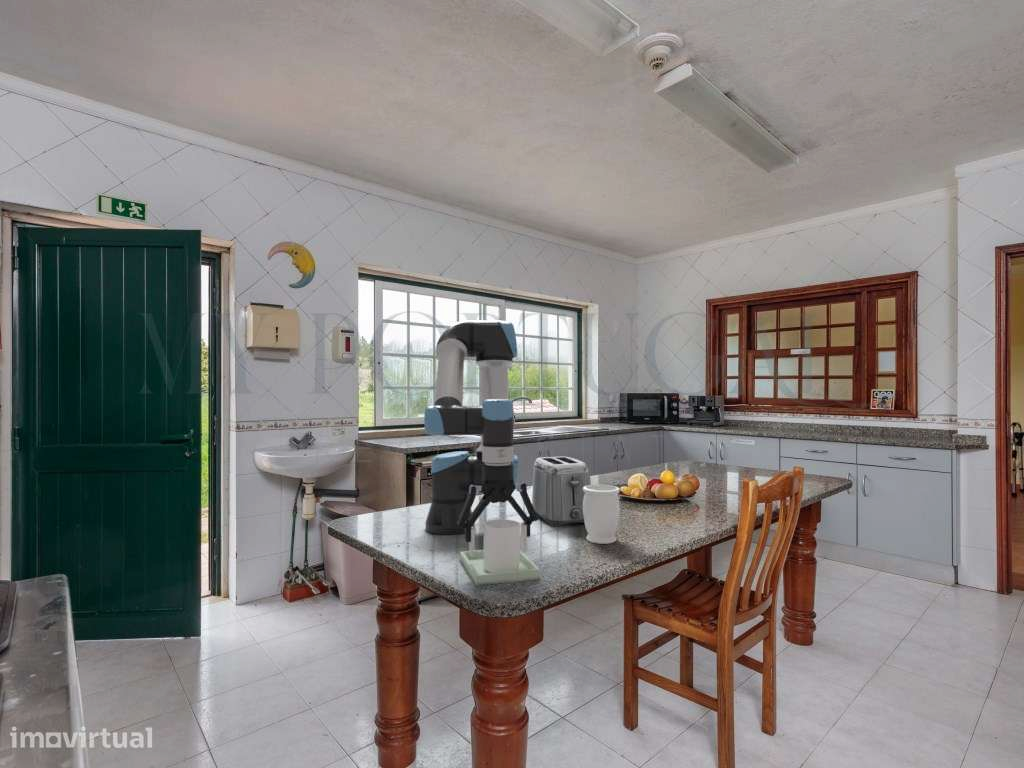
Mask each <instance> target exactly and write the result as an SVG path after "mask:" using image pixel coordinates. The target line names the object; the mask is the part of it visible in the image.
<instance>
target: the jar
mask: <svg viewBox="0 0 1024 768" xmlns="http://www.w3.org/2000/svg"><path fill="white" fill-rule="evenodd" d="M583 491H584V492H585V495H584V499H583V515H584V522H585V523H584V526H585V529H586V532H587V536H586V540H587V541H588V542H590V543H593V544H600V545H608V544H613V543H615V542H616V540H617V538H616V536H615V534H616V532H617V531H618V528H619V527H618V526H619V519H620V513H621V512H620V510H621V506H620V498H619V495H618V494H619V493H620V487H618V486H614V485H608V484H591V485H588V486H584V487H583Z"/></svg>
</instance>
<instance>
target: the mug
mask: <svg viewBox="0 0 1024 768" xmlns="http://www.w3.org/2000/svg"><path fill="white" fill-rule="evenodd" d="M520 523H521V522H518V521H517V520H512V519H503V518H501V519H500V518H499V519H491V520H487V521H485V522H484V523H483V550H484V553H483V565H484V569H485V570H486V571H488V572H490V573H497V572H507V571H516V570H518V569H519V564H520V550H521V549H520Z"/></svg>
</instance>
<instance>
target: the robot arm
mask: <svg viewBox="0 0 1024 768" xmlns="http://www.w3.org/2000/svg"><path fill="white" fill-rule="evenodd" d="M435 356H436V358H437V360H438V361H437V372H436V381H435V382H436V383H435V392H434V403H433V405H428V406H426V407H425V409H424V419H423V421H424V432H425V433H426V434H427V435H431V436H440V437H441V436H442V437H443V436H480V445H478V446H479V447H478V448H476V450H475V454H476V455H470V454H471V453H470V452H469V451H468V450H467V451H466V450H463V451H462V450H460V451H451V452H445V453H441V454H437V455H436V456H434V457H433V458H432V459H431V466H430V469H431V470H430V474H431V477H430V478H431V481H430V482H431V483H430V484H431V485H430V486H431V488H430V490H431V491H430V495H431V496H430V499H431V500H430V501H431V502H430V507H429V510H428V514H427V516H426V520H425V531H426V532H429V533H430V534H435V535H458V534H459V535H460V534H464V539H465V542H466V543H468V551H469V554H470V556H471V557H475V550H476V548H475V546H476V545H475V543H476V542H475V541H476V540H475V539H476V537H475V533H476V532H475V531H476V530H475V527H476V522H477V520H478V519H479V517H480V516H481V515H482V514H483V513H484V511H485V510H486V508H487V507H488V506H489V505H490V503H492V504H497V503H506V502H508V503H509V504H510V505H511V506H512V508H513V509H514V511H515V512H516V513H517V514H518V516H519V517H520V519H521V520H522V521H523V522H519V523H520V550H521V551H522V552H523V553H527V552H528V551H527V550H528V546H527V545H528V540H527V538H530V537H531V525H532V524H533V522H537V521H538V520H539V517H538V514H536V512H535V510H534V508H533V505H532V500H531V499H530V496H529V494H528V488H527V484H526V483H525V482H523V481H519V482H517V477H518V467H519V466H518V464H519V457H518V455H516V454H514V416H515V411H514V402H513V400H511V399H509V368H510V367H511V365H512V364H514V363H513V362H514V361H513V359H515V358H517V357H518V343H517V335H516V331H515V326H514V324H513V323H512V322H511V321H508V320H500V319H497V320H483V319H482V320H469V319H467V320H461V321H457V322H456V323H453V324H452V325H450V326H448V328H446V330H444V331H443V332H442V333H441V335H440V337H439V338H438V340H437V342H436V347H435ZM467 358H475V364H476V365H477V366H478V367H479V368H480V405H463V404H464V403H463V398H464V397H463V395H464V373H465V372H464V370H465V368H464V366H465V360H466V359H467ZM515 491H517V492H519V494H520V496H521V500H522V502H523V504H524V506H525V508H526V511H527V512H528V515H527V514H526V512H525V511H524V510H523V509H522V507H521V506H520V505H519V504H518V502H517V500H516V499H515V497H514V496H513V493H514V492H515ZM477 495H482V497H481V498H480V501H479V503H477V505H476V506H475V508H474V509H473V511H472V507H473V504H474V502H475V499H476V496H477Z"/></svg>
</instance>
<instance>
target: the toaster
mask: <svg viewBox="0 0 1024 768" xmlns="http://www.w3.org/2000/svg"><path fill="white" fill-rule="evenodd" d="M532 471H533V472H532V495H531V497H532V499H531V503H532V505H533V508H534V510H535V512H536V515H537V516H539V517H541V518H542V519H543V520H544V521H545V522H546V523H547V524H549V525H551V526H553V527H562V526H564V525H565V524H571V523H584V524H585V522H584V515H583V499H584V495H585V492H584V491H583V487H584V486H588V485H592V484H591V483H592V482H591V481H592V480H591V472H590V468H589V466H588V465H587V463H586V462H584V461H581V460H579V459H577V458H573V457H570V456H563V455H562V456H561V455H560V456H545V457H544V456H543V457H537V458H536V459H535V461H534V463H533V469H532Z"/></svg>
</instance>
